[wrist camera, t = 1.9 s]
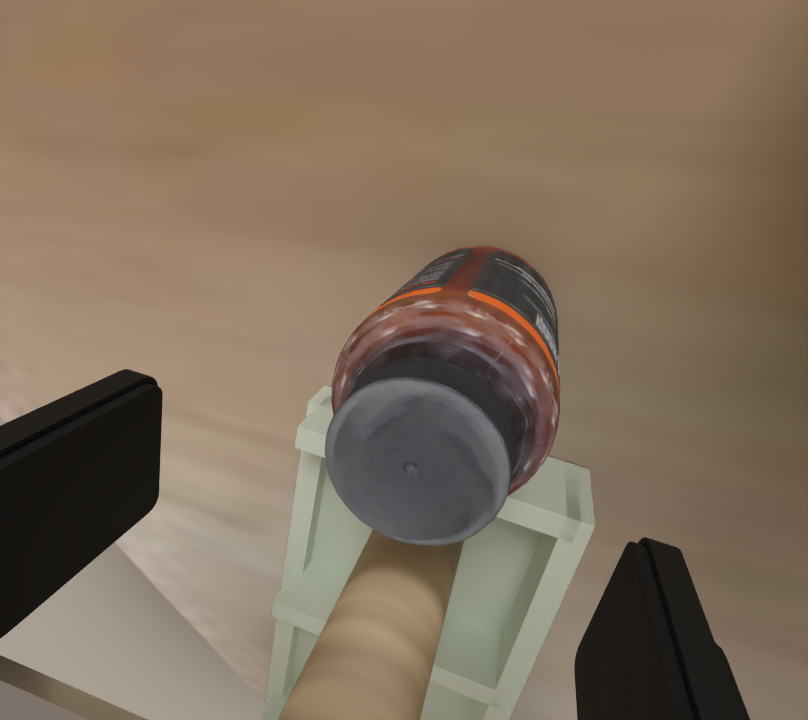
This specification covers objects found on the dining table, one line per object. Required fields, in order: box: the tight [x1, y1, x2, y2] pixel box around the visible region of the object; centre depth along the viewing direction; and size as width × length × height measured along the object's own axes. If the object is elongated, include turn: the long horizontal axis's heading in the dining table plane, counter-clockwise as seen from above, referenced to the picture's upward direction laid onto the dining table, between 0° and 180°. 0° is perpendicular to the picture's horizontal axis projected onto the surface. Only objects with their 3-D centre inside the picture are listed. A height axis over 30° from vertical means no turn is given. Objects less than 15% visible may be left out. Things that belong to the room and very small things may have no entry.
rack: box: [260, 385, 595, 720], centre depth 25 cm, size 20×12×4 cm, turn 168°
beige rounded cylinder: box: [278, 529, 464, 720], centre depth 20 cm, size 4×4×10 cm
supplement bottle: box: [325, 246, 560, 546], centre depth 16 cm, size 6×6×11 cm
